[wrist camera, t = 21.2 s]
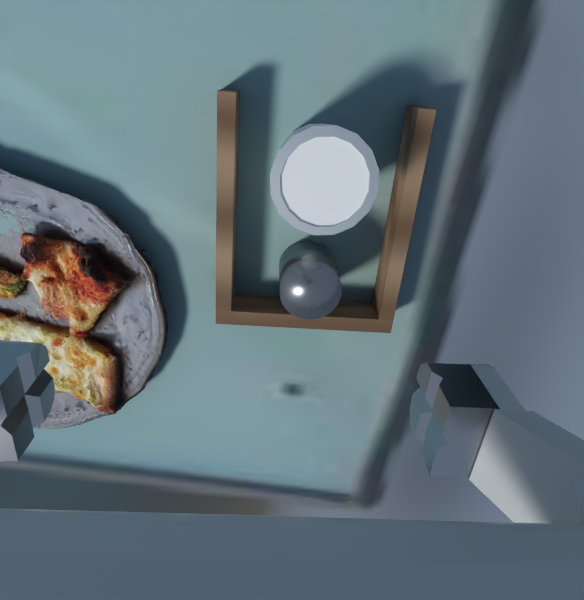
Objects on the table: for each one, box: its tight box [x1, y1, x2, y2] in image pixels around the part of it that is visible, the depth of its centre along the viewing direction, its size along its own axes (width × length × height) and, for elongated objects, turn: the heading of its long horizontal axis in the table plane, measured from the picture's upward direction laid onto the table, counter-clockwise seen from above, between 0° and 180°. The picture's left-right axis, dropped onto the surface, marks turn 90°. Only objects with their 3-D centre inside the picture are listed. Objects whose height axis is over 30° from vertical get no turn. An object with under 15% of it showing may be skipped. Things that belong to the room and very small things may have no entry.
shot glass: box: [270, 123, 379, 235], centre depth 31 cm, size 7×7×7 cm
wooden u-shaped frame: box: [216, 89, 436, 333], centre depth 35 cm, size 17×14×3 cm
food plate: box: [0, 168, 168, 428], centre depth 38 cm, size 25×23×4 cm
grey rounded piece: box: [279, 240, 342, 320], centre depth 36 cm, size 5×5×5 cm
